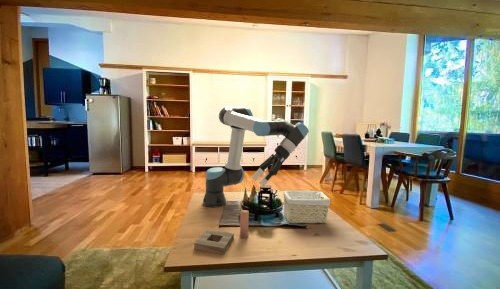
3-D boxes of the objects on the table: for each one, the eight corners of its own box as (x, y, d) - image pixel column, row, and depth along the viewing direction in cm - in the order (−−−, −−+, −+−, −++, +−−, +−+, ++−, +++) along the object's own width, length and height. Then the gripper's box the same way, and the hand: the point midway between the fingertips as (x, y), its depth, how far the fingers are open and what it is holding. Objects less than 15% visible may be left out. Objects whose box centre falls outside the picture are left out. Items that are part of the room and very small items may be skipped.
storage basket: (319, 213, 163) (321, 190, 161) (329, 224, 147) (331, 199, 145) (281, 213, 161) (282, 190, 159) (287, 225, 145) (288, 199, 143)
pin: (241, 234, 132) (241, 209, 130) (248, 235, 131) (249, 210, 130) (238, 237, 128) (239, 212, 127) (246, 239, 127) (247, 213, 126)
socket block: (207, 235, 130) (207, 229, 130) (233, 239, 127) (233, 233, 127) (194, 249, 117) (194, 243, 116) (223, 254, 114) (223, 248, 113)
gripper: (300, 156, 120) (270, 192, 117) (281, 152, 144) (255, 181, 141) (289, 145, 118) (258, 181, 115) (271, 143, 142) (245, 172, 140)
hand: (257, 181), depth 128 cm, fingers open, 13 cm apart
